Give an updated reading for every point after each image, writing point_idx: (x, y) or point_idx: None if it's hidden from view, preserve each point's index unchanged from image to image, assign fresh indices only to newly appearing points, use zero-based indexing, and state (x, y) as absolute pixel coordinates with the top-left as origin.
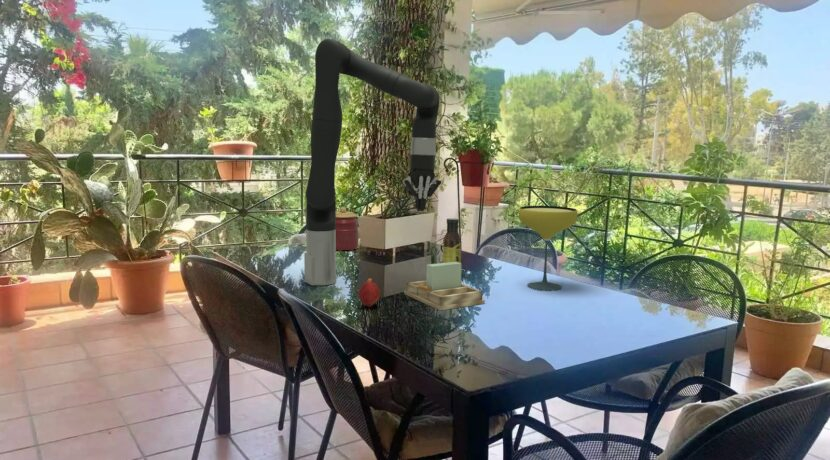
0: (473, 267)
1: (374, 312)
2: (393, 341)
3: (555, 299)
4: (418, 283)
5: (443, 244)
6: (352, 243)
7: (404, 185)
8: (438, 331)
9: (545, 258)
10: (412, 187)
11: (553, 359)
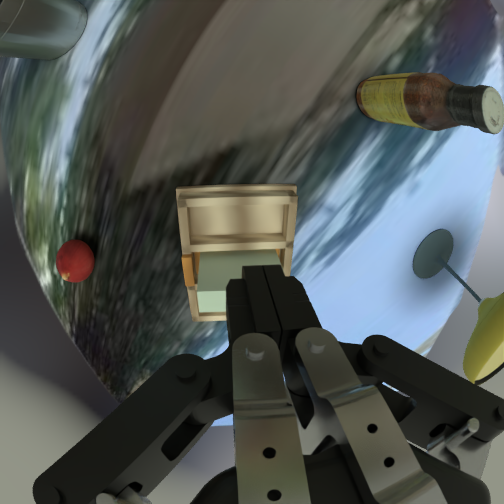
0: (454, 67)
1: (88, 278)
2: (99, 365)
3: (383, 314)
4: (208, 205)
5: (409, 84)
6: None
7: (75, 461)
8: (152, 364)
9: (460, 282)
10: (163, 474)
11: (218, 419)
